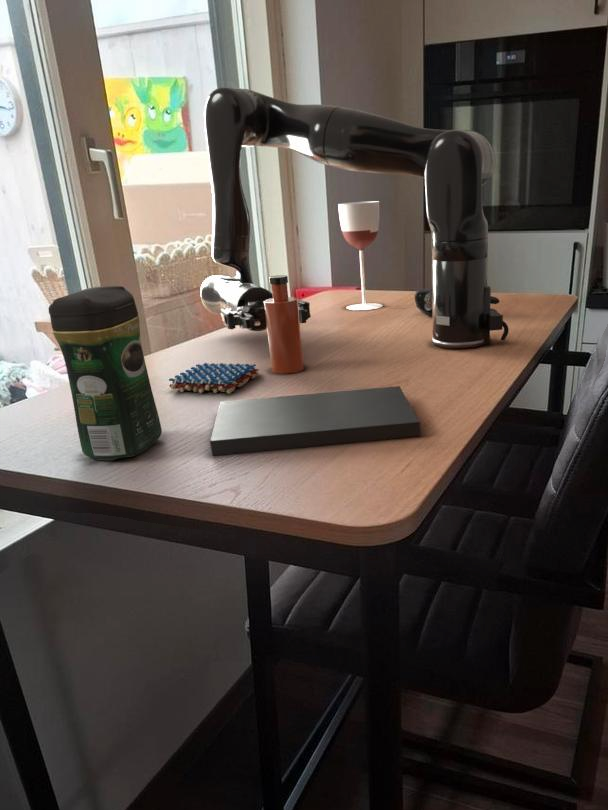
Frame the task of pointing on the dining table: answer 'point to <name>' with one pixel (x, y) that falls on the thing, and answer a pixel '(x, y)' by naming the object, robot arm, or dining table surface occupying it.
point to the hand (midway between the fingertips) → (278, 320)
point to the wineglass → (360, 236)
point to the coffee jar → (106, 371)
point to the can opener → (425, 301)
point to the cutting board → (313, 420)
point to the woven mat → (214, 377)
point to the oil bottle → (283, 328)
